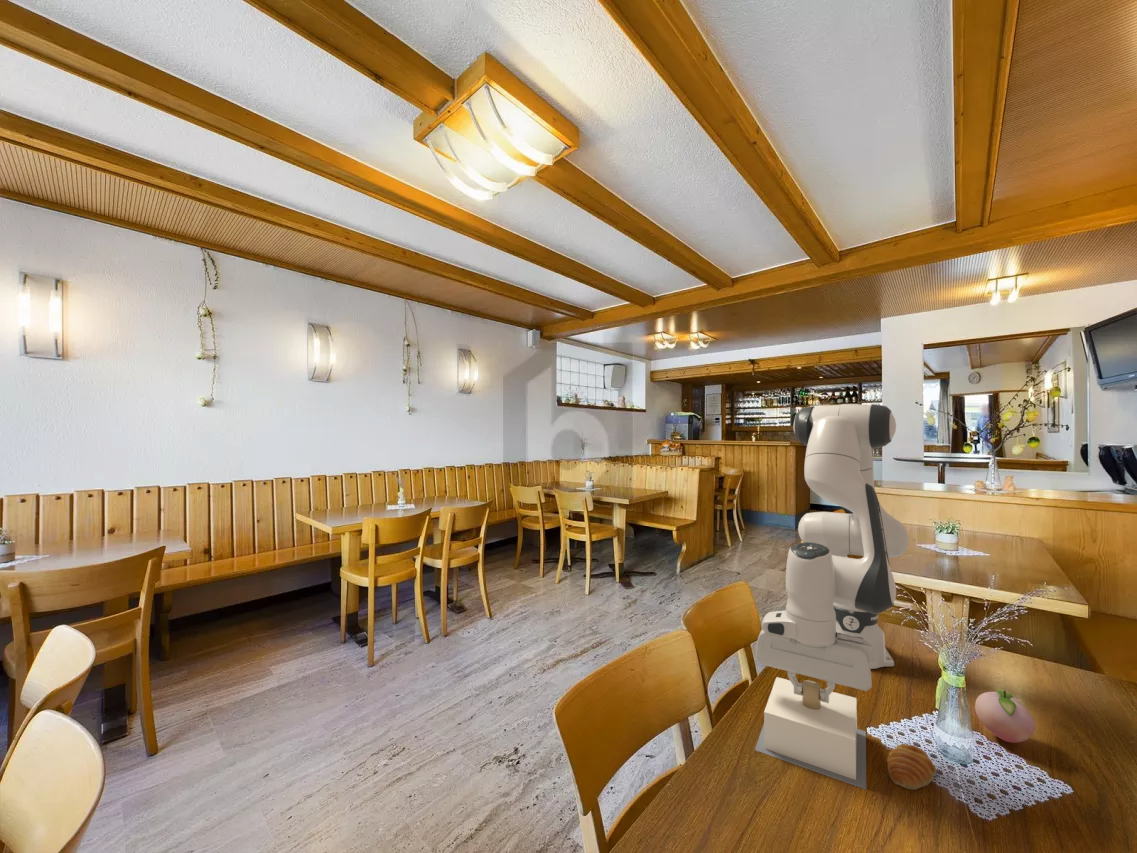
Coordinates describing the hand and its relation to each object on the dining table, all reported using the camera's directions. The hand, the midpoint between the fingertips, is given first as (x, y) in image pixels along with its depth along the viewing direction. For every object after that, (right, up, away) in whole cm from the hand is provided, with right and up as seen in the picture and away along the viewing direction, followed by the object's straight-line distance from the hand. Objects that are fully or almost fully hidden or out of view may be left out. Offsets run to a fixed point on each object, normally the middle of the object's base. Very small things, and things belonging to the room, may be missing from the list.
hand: (811, 697), depth 90 cm
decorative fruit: (+38, -9, 0) cm, 39 cm away
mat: (0, -9, 0) cm, 9 cm away
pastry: (+13, -9, -9) cm, 18 cm away
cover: (0, -9, 0) cm, 8 cm away
